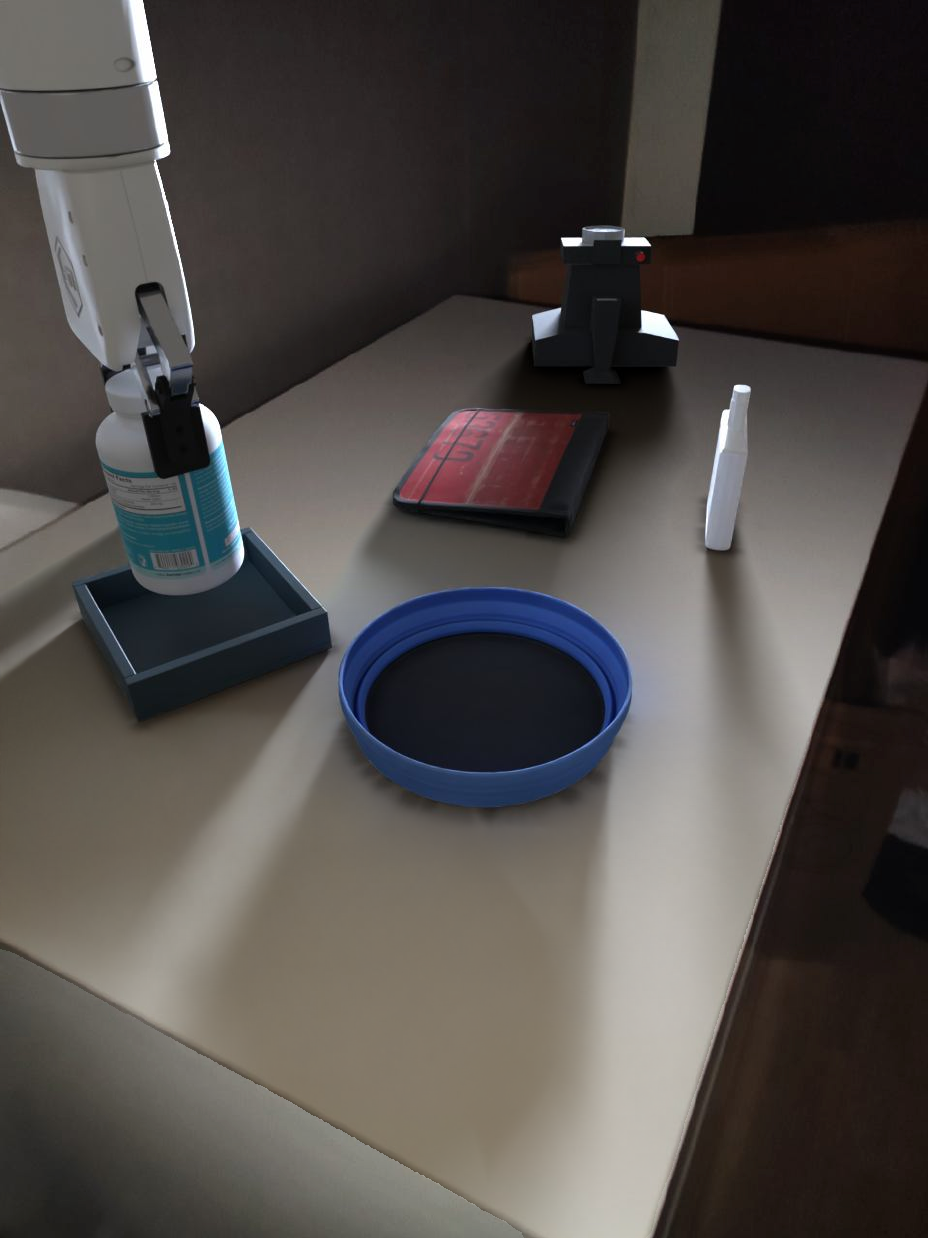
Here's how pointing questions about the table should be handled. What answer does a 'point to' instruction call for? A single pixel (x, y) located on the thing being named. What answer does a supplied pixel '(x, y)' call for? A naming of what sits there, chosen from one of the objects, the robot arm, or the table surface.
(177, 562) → the pill bottle
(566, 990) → the table surface
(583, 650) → the bowl
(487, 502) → the binder
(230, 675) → the tray
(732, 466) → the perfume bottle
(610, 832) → the table surface
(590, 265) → the camera
